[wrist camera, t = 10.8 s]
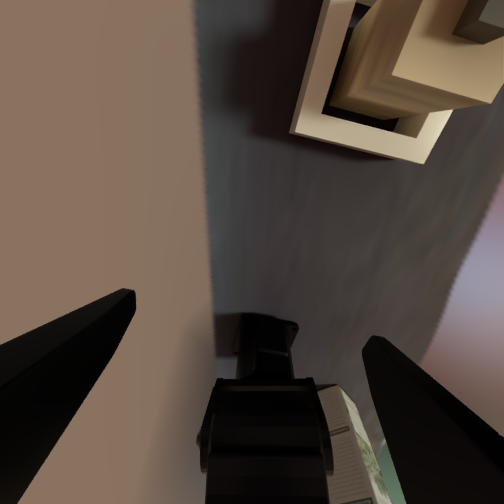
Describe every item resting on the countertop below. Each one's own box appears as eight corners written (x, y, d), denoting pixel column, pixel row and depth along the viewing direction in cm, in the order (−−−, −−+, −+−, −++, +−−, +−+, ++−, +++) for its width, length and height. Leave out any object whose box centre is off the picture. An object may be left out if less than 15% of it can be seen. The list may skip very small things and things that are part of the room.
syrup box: (300, 396, 31) (330, 581, 18) (339, 382, 29) (402, 576, 16) (320, 414, 33) (359, 593, 20) (357, 402, 31) (426, 589, 18)
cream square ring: (396, 160, 16) (423, 164, 14) (288, 133, 16) (294, 131, 13) (472, 5, 12) (530, -31, 10) (333, -39, 12) (354, -89, 9)
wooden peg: (383, 120, 15) (519, 99, 7) (328, 105, 15) (408, 66, 7) (415, 45, 13) (644, -91, 5) (354, 27, 13) (501, -147, 5)
